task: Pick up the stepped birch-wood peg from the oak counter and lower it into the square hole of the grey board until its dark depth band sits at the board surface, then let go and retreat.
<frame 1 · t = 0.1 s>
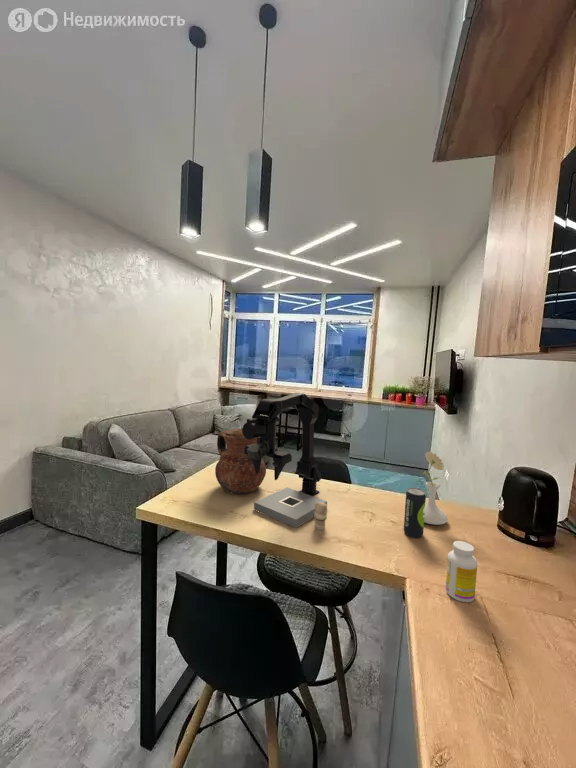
hand: (266, 476, 123), 15 cm above the counter, fingers open, 9 cm apart
jug: (240, 488, 149), on the counter
flower in vase: (429, 519, 126), on the counter
socket board: (290, 509, 130), on the counter
supplement bottle: (459, 594, 86), on the counter
birch peg: (319, 527, 117), on the counter
beverage can: (413, 534, 115), on the counter
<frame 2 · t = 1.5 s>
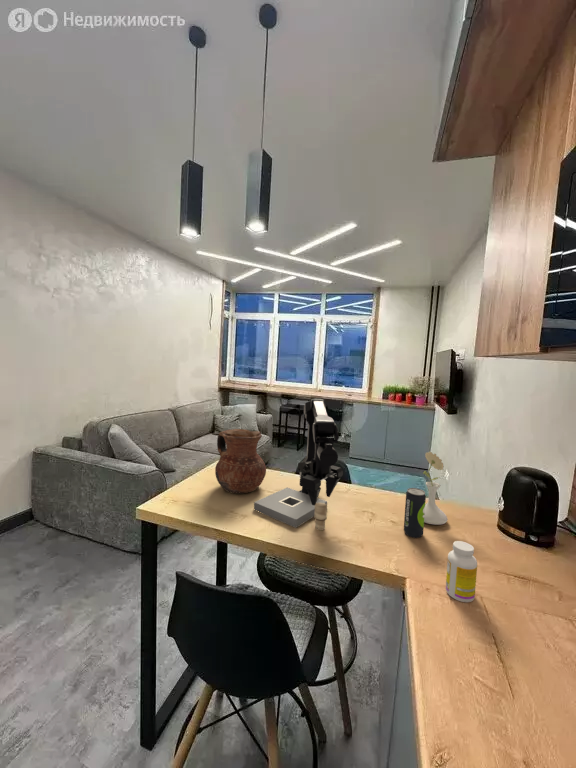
hand: (321, 500, 116), 9 cm above the counter, fingers open, 9 cm apart
nothing on the counter moved.
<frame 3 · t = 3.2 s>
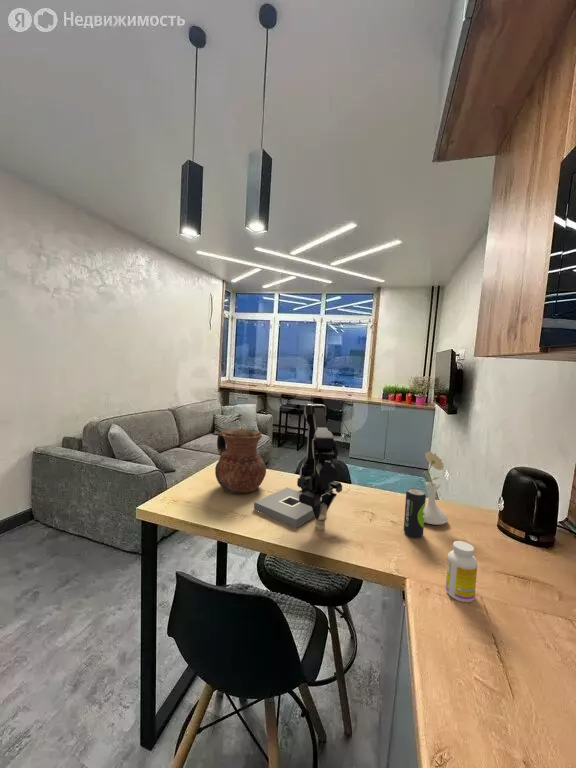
hand: (320, 516, 117), 4 cm above the counter, fingers closed on birch peg, 4 cm apart
birch peg: (319, 527, 117), on the counter, touching gripper
everything else where it was.
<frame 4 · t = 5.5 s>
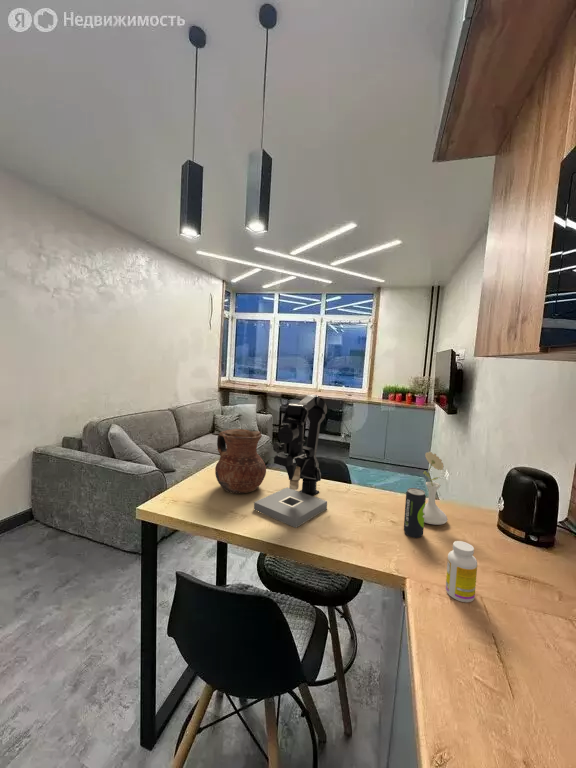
hand: (294, 477, 128), 13 cm above the counter, fingers closed on birch peg, 4 cm apart
birch peg: (293, 488, 128), point 9 cm above the counter, touching gripper
everything else where it was.
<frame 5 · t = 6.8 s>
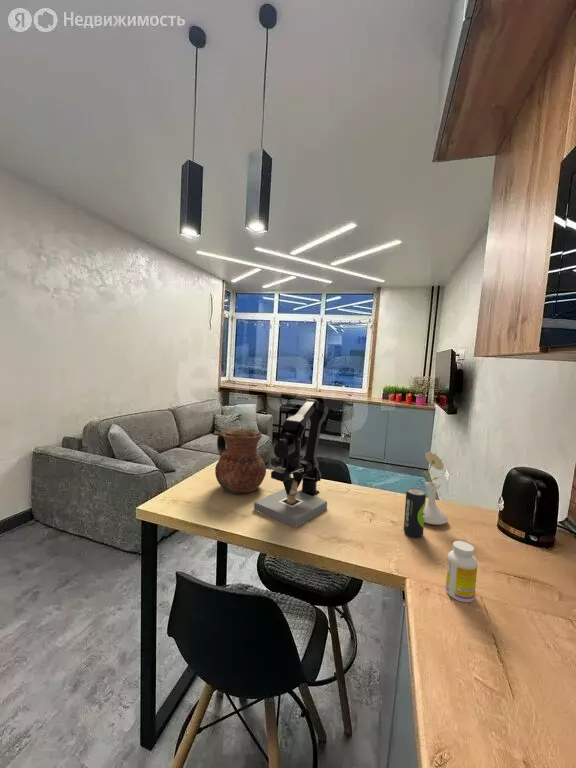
hand: (291, 491, 129), 7 cm above the counter, fingers closed on birch peg, 4 cm apart
birch peg: (291, 502, 130), point 3 cm above the counter, touching gripper
everything else where it was.
when the fingers open (5 cm above the counter, at t = 7.9 s): birch peg stays where it is, resting in socket board.
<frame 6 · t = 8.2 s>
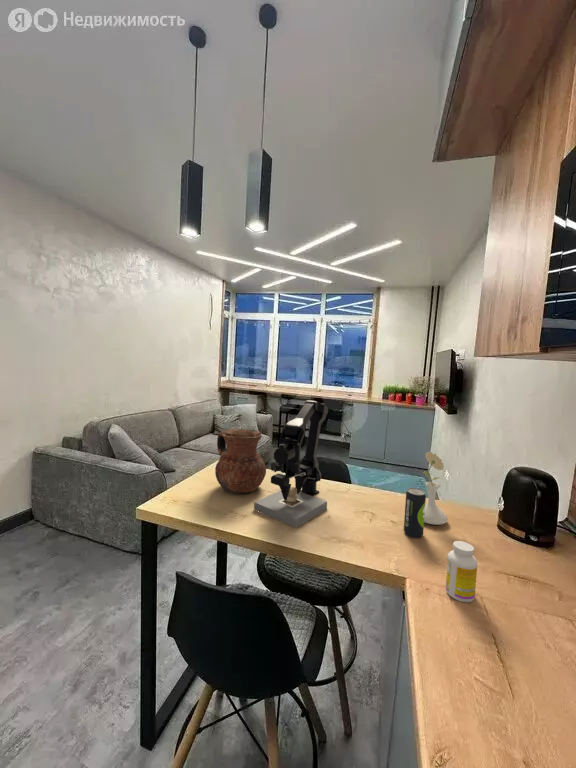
hand: (291, 496, 130), 5 cm above the counter, fingers open, 7 cm apart
birch peg: (290, 509, 130), resting in socket board
everything else where it was.
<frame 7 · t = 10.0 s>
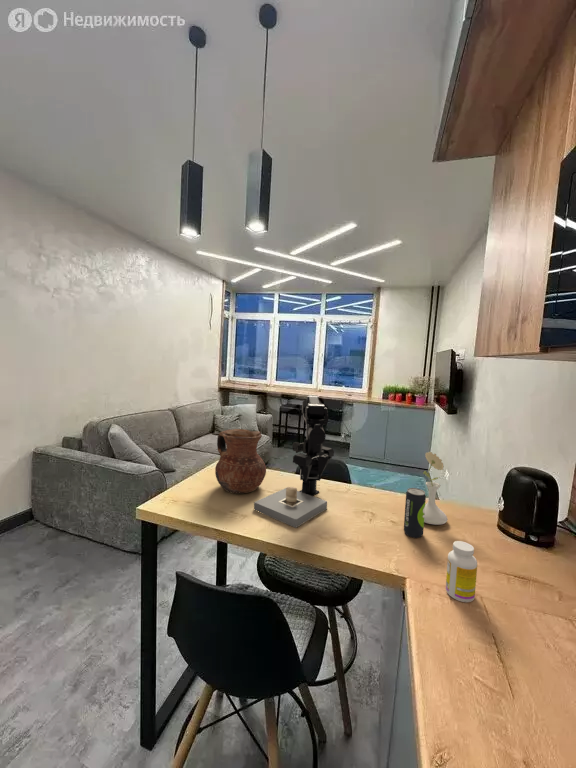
hand: (313, 477, 128), 13 cm above the counter, fingers open, 9 cm apart
nothing on the counter moved.
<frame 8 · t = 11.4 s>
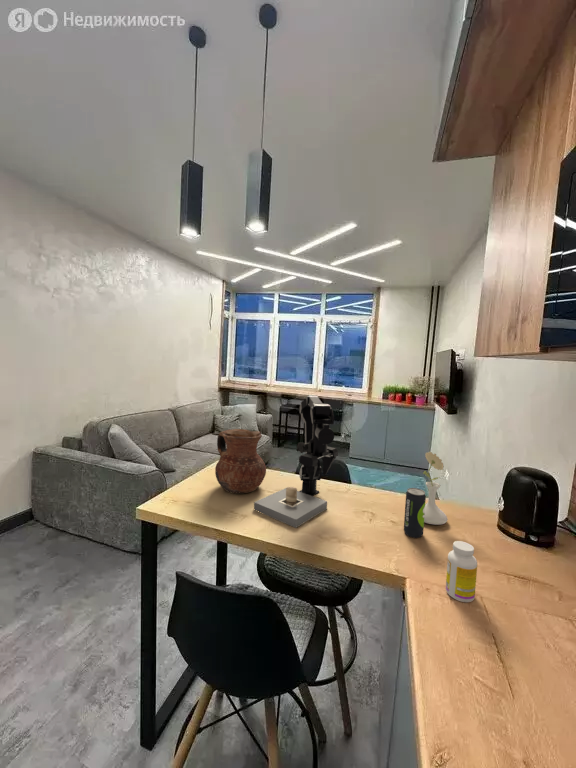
hand: (318, 477, 129), 13 cm above the counter, fingers open, 9 cm apart
nothing on the counter moved.
at the end: birch peg 0.0 cm off-centre on the socket board, point 0.0 cm above the socket board's base; birch peg tilted 0°; the gripper is holding nothing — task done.
